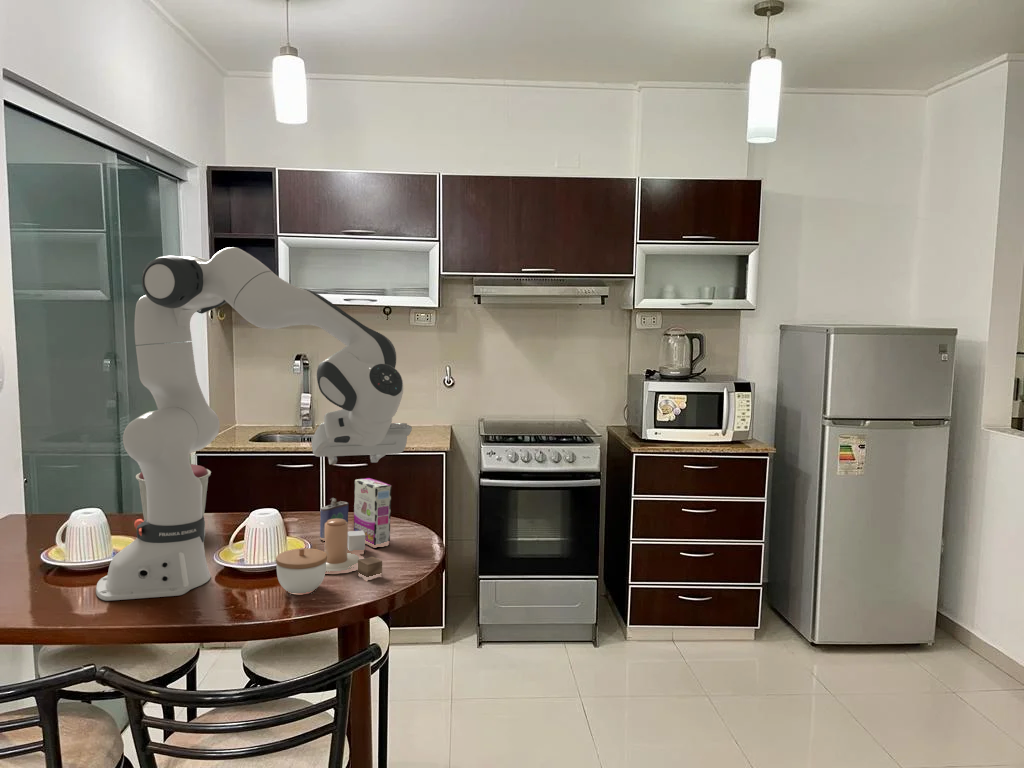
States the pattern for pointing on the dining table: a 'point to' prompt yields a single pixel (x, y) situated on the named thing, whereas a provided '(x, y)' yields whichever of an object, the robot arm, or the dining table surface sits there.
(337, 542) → the tan cylinder
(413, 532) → the dining table surface
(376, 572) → the walnut block
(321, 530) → the flask
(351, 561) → the cream plate
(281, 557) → the lidded jar
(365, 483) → the candy bar box
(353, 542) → the grey block
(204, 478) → the canister
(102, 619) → the dining table surface
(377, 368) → the robot arm
